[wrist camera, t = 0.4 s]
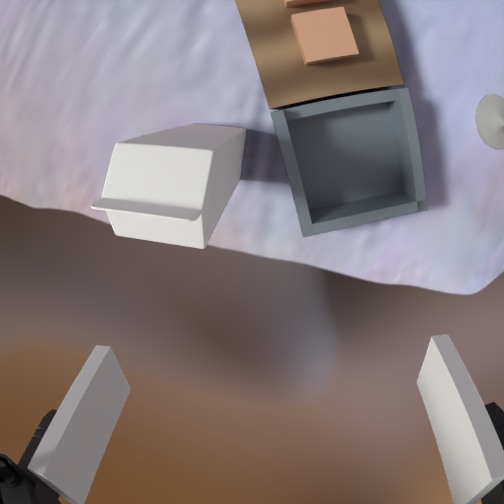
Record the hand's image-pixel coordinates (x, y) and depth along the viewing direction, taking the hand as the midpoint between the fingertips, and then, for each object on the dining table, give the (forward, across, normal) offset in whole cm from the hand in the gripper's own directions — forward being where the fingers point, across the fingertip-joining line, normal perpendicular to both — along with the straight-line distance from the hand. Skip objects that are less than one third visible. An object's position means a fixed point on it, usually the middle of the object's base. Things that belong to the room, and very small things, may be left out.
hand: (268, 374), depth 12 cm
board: (+27, +5, +19) cm, 34 cm away
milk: (+28, -6, +5) cm, 29 cm away
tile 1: (+23, +6, +16) cm, 29 cm away
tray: (+27, +8, +4) cm, 29 cm away
